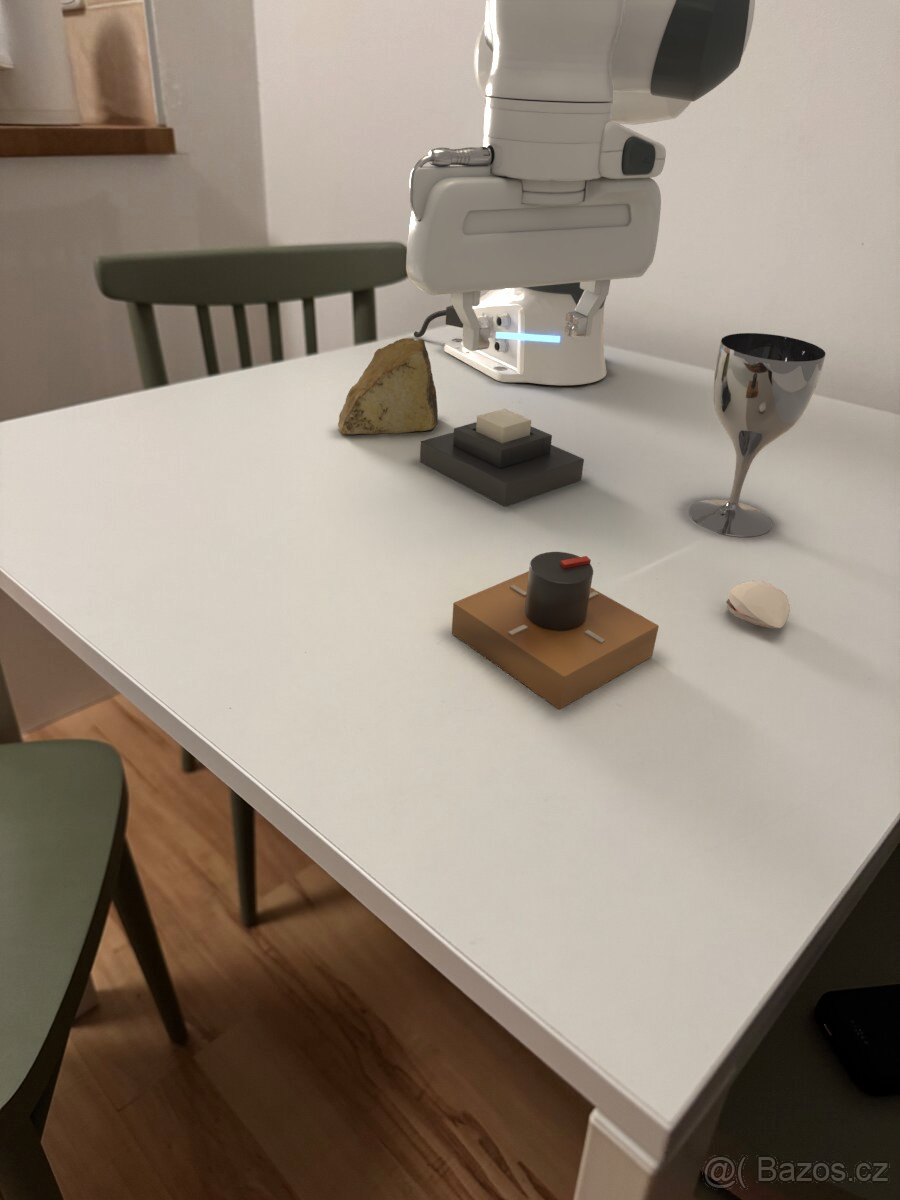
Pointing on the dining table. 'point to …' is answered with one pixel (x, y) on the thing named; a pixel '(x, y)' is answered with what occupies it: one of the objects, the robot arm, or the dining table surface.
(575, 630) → the volume panel
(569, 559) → the volume knob
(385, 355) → the rock
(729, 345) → the wine glass
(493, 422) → the cream square button
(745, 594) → the clam shell
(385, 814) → the dining table surface
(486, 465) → the button base
